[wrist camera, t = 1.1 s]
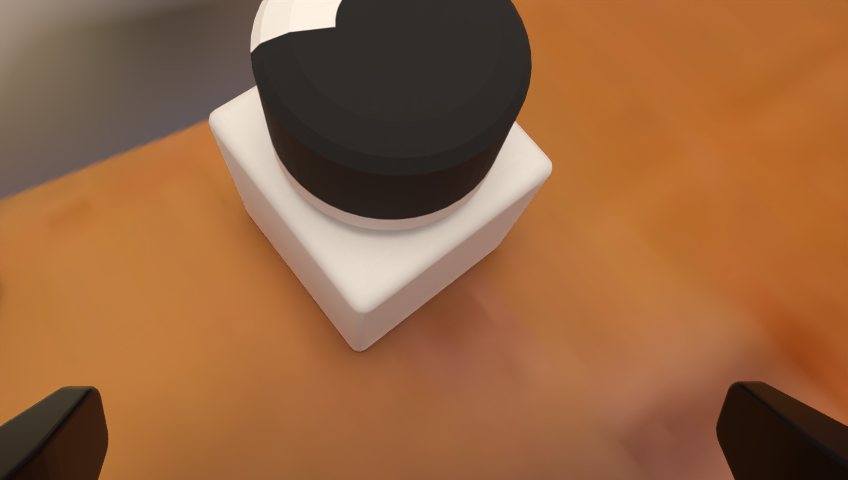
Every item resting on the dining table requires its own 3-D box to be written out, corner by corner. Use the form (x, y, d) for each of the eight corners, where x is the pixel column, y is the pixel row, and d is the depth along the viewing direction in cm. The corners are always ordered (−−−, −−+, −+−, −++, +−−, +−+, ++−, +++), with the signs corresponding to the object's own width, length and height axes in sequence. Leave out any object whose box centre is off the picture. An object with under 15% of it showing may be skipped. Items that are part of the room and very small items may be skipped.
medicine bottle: (502, 244, 24) (636, 62, 13) (357, 357, 22) (363, 259, 11) (390, 113, 25) (422, -155, 14) (243, 209, 23) (143, -16, 12)
